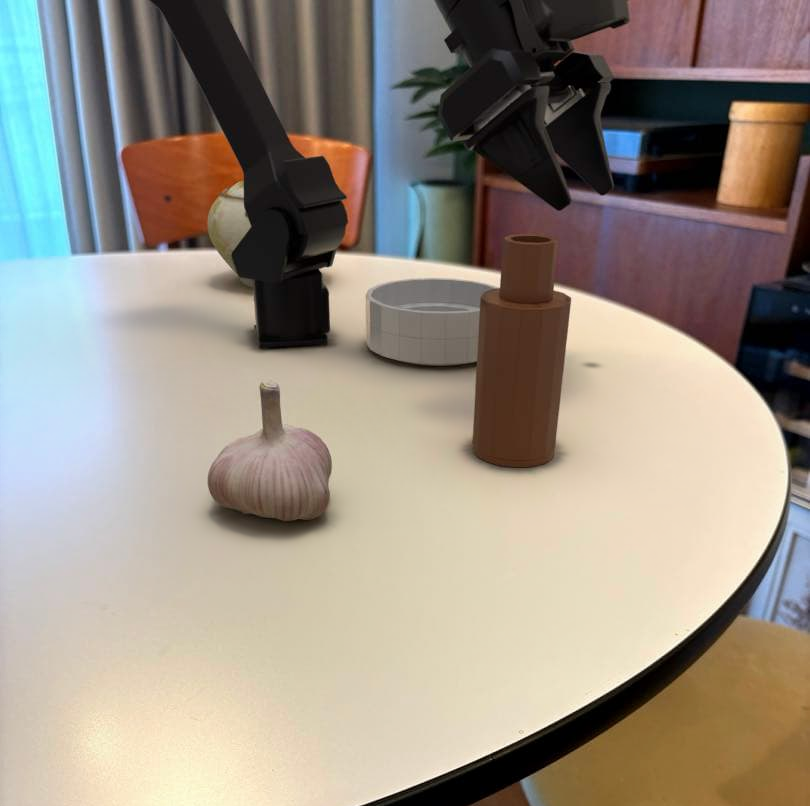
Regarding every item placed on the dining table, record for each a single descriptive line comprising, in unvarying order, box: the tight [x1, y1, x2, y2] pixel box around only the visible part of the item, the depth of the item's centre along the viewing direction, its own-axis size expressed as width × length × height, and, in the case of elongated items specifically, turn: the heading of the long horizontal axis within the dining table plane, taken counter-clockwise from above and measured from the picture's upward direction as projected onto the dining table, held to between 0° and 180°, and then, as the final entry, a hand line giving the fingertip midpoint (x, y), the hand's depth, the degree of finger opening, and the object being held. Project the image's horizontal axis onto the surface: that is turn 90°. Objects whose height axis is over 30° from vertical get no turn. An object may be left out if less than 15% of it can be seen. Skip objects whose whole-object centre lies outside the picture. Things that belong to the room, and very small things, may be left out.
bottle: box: [472, 233, 572, 468], centre depth 54 cm, size 6×6×14 cm
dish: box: [365, 277, 500, 367], centre depth 76 cm, size 13×13×5 cm
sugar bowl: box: [206, 180, 253, 288], centre depth 97 cm, size 20×15×15 cm
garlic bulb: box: [207, 380, 333, 522], centre depth 48 cm, size 8×7×8 cm
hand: (588, 199), depth 60 cm, fingers open, 9 cm apart
